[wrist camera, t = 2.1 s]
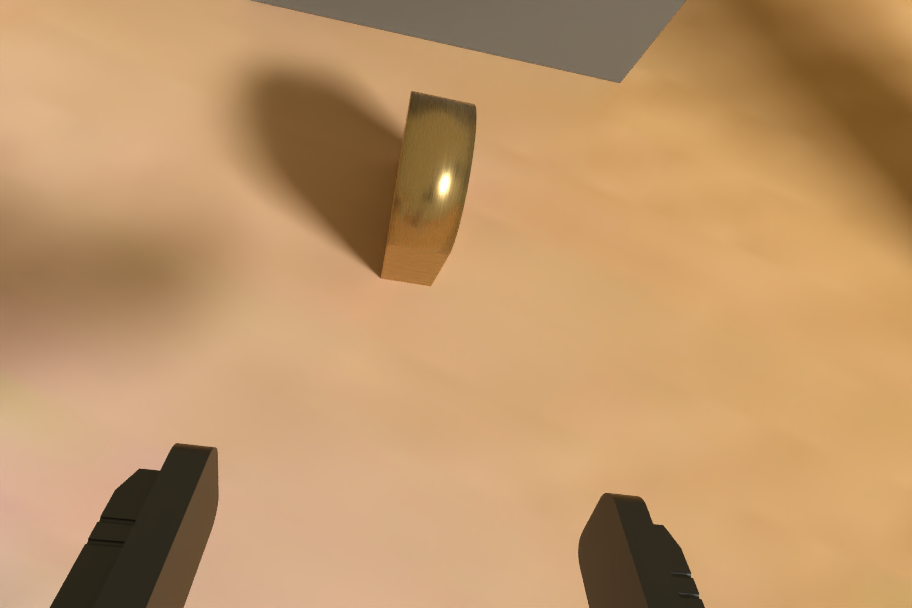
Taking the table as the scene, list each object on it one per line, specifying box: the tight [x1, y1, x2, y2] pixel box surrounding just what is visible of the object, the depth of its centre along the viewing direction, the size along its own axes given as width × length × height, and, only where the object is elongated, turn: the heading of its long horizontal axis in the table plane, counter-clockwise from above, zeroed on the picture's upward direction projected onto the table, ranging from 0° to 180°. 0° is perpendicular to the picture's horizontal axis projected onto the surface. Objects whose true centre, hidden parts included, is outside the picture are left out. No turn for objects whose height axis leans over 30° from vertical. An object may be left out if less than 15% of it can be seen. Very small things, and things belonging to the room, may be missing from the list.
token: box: [381, 91, 476, 286], centre depth 24 cm, size 2×6×8 cm, turn 173°
